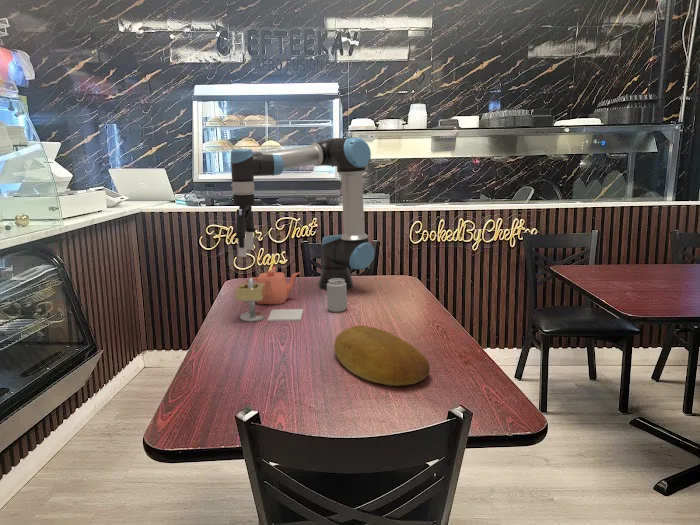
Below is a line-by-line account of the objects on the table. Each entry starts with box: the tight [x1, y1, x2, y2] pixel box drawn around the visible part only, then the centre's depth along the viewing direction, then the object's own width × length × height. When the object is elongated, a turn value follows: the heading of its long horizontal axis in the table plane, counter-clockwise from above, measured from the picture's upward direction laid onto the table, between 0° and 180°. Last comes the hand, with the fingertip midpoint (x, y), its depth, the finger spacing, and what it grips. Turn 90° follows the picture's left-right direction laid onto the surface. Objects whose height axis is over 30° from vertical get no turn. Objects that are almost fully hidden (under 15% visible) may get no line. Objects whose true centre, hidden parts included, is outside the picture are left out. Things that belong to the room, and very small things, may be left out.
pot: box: [245, 266, 301, 305], centre depth 215 cm, size 18×17×12 cm
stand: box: [239, 277, 266, 323], centre depth 192 cm, size 9×9×15 cm
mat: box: [267, 308, 304, 322], centre depth 196 cm, size 12×12×1 cm
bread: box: [333, 324, 431, 387], centre depth 149 cm, size 18×35×10 cm, turn 36°
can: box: [326, 278, 348, 313], centre depth 200 cm, size 8×8×12 cm
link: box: [235, 282, 266, 302], centre depth 191 cm, size 9×9×4 cm
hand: (246, 253), depth 190 cm, fingers open, 13 cm apart
